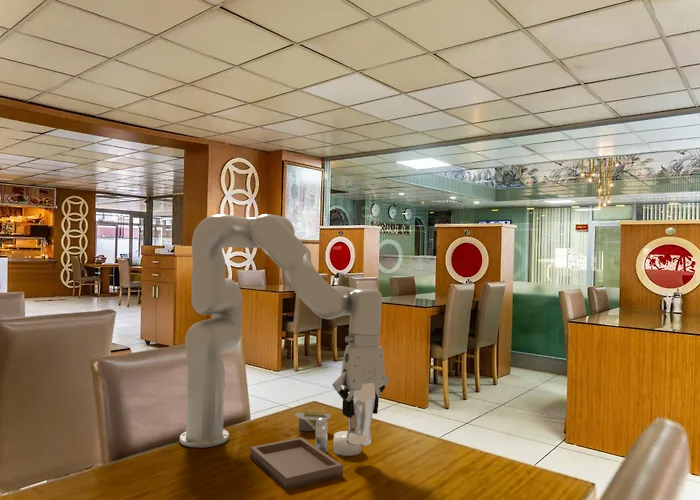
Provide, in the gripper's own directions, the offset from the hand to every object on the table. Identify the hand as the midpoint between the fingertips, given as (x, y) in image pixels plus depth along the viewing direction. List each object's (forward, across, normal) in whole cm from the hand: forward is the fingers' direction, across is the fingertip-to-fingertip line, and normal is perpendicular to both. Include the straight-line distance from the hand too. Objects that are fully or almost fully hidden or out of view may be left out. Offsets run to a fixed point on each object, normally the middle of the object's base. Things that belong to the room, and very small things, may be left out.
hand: (360, 413), depth 124 cm
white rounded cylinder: (+12, +2, +7) cm, 14 cm away
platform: (+13, +1, +24) cm, 27 cm away
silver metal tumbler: (+7, 0, 0) cm, 7 cm away
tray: (+12, -14, +5) cm, 19 cm away
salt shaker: (+12, -4, +10) cm, 16 cm away
